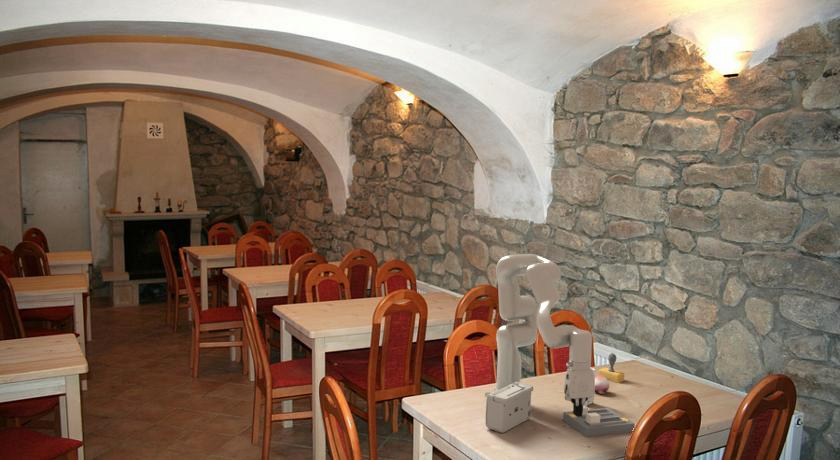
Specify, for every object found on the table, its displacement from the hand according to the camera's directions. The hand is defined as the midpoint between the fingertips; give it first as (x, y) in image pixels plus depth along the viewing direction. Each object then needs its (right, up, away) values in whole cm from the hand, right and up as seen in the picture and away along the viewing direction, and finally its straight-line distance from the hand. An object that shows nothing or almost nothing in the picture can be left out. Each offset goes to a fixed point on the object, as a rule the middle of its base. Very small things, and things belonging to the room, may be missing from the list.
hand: (577, 415), depth 235 cm
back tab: (+4, -3, +11) cm, 12 cm away
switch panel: (+10, -6, +9) cm, 14 cm away
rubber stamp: (+31, -2, +65) cm, 72 cm away
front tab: (+6, -3, +3) cm, 8 cm away
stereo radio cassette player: (-24, -6, +7) cm, 25 cm away
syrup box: (+10, -4, +32) cm, 34 cm away
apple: (+20, -3, +46) cm, 50 cm away
